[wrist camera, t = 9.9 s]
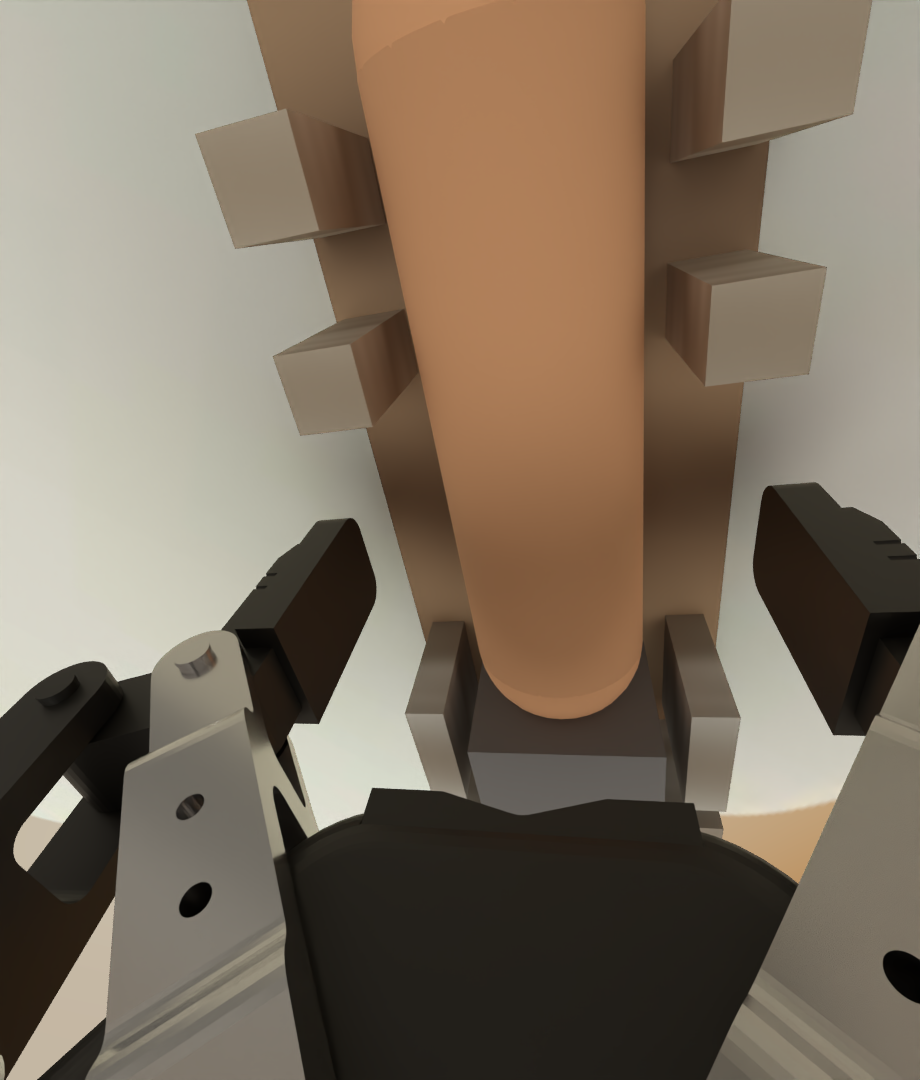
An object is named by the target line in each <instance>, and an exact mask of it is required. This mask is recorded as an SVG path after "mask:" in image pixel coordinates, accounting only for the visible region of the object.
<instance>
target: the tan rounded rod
mask: <svg viewBox="0 0 920 1080" xmlns="http://www.w3.org/2000/svg"><path fill="white" fill-rule="evenodd" d="M352 43H353V50H354V57H355V65H356V72H357V83H358V87H359V92H360V97H361V101H362V106H363V111H364V115H365V120H366V125H367V129H368V134H369V139H370V143H371V148H372V153H373V157H374V162H375V167H376V171H377V176H378V181H379V185H380V190H381V195H382V199H383V204H384V209H385V213H386V218H387V223H388V227H389V232H390V237H391V241H392V246H393V251H394V255H395V260H396V265H397V269H398V274H399V279H400V283H401V288H402V293H403V297H404V302H405V307H406V311H407V316H408V321H409V325H410V330H411V335H412V339H413V344H414V349H415V353H416V358H417V363H418V367H419V372H420V377H421V381H422V386H423V391H424V395H425V400H426V405H427V409H428V414H429V419H430V423H431V428H432V433H433V437H434V442H435V447H436V451H437V456H438V461H439V465H440V470H441V475H442V479H443V484H444V489H445V493H446V498H447V503H448V507H449V512H450V517H451V521H452V526H453V531H454V535H455V540H456V545H457V549H458V554H459V559H460V563H461V568H462V573H463V577H464V582H465V587H466V591H467V596H468V600H469V605H470V610H471V614H472V619H473V624H474V628H475V633H476V638H477V642H478V647H479V652H480V655H481V658H482V667H481V673H480V679H479V685H478V691H477V697H476V703H475V709H474V715H473V721H472V728H471V734H470V740H469V746H468V752H467V753H468V756H469V760H470V764H471V768H472V771H473V775H474V779H475V783H476V786H477V790H478V794H479V798H480V801H481V804H484V805H487V806H490V807H493V808H496V809H500V810H503V811H506V812H509V813H512V814H516V815H530V814H535V813H540V812H545V811H549V810H554V809H559V808H564V807H569V806H574V805H579V804H584V803H589V802H594V801H599V800H604V799H618V800H639V801H660V802H665V784H666V760H667V757H666V752H665V747H664V742H663V737H662V732H661V727H660V722H659V717H658V712H657V706H656V701H655V696H654V691H653V686H652V681H651V676H650V671H649V666H648V661H647V656H646V651H645V646H644V641H643V471H644V262H645V53H646V3H645V0H352Z"/></svg>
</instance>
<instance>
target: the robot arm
mask: <svg viewBox="0 0 920 1080" xmlns="http://www.w3.org/2000/svg"><path fill="white" fill-rule="evenodd" d="M753 572H754V579H755V583H756V587H757V589H758V592H759V594H760V596H761V598H762V599H763V601H764V603H765V605H766V607H767V609H768V611H769V613H770V615H771V617H772V619H773V620H774V622H775V624H776V626H777V628H778V630H779V632H780V634H781V636H782V638H783V640H784V642H785V643H786V645H787V647H788V649H789V651H790V653H791V655H792V657H793V659H794V661H795V663H796V665H797V666H798V668H799V670H800V672H801V674H802V676H803V678H804V680H805V682H806V684H807V686H808V687H809V689H810V691H811V693H812V695H813V697H814V699H815V701H816V703H817V705H818V707H819V709H820V710H821V712H822V714H823V716H824V718H825V720H826V722H827V724H828V726H829V728H830V730H831V732H832V733H833V735H854V736H866V737H865V739H864V741H863V743H862V746H861V748H860V750H859V752H858V754H857V757H856V759H855V761H854V763H853V765H852V768H851V770H850V772H849V774H848V776H847V779H846V781H845V783H844V785H843V787H842V790H841V792H840V794H839V796H838V798H837V801H836V803H835V805H834V807H833V809H832V812H831V814H830V816H829V818H828V821H827V823H826V825H825V827H824V829H823V832H822V834H821V836H820V839H819V840H818V843H817V845H816V847H815V849H814V851H813V854H812V856H811V858H810V860H809V863H808V865H807V867H806V869H805V871H804V874H803V876H802V878H801V880H800V882H799V884H798V883H797V882H795V881H794V880H793V879H792V878H790V877H789V876H788V875H786V874H785V873H783V872H782V871H780V870H779V869H777V868H775V867H774V866H773V865H771V864H770V863H768V862H767V861H765V860H764V859H762V858H760V857H758V856H756V855H754V854H753V853H751V852H749V851H747V850H745V849H743V848H741V847H739V846H737V845H735V844H733V843H730V842H728V841H725V840H723V839H721V838H718V837H716V836H713V835H710V834H706V833H703V832H701V831H700V827H699V822H698V818H697V814H696V809H695V805H694V803H682V802H660V801H639V800H618V799H604V800H599V801H594V802H589V803H584V804H579V805H574V806H569V807H564V808H559V809H554V810H549V811H545V812H540V813H535V814H530V815H516V814H512V813H509V812H506V811H503V810H500V809H496V808H493V807H490V806H487V805H484V804H481V803H478V802H475V801H472V800H469V799H466V798H462V797H459V796H456V795H453V794H450V793H447V792H444V791H427V790H406V789H384V788H372V790H371V793H370V797H369V800H368V803H367V806H366V809H365V812H364V814H360V815H356V816H353V817H350V818H347V819H344V820H341V821H339V822H337V823H335V824H332V825H330V826H328V827H326V828H324V829H322V830H320V831H319V829H318V826H317V823H316V820H315V817H314V814H313V811H312V807H311V804H310V800H309V797H308V793H307V790H306V787H305V783H304V780H303V776H302V773H301V770H300V766H299V763H298V759H297V756H296V753H295V749H294V746H293V743H292V741H291V739H290V737H289V736H288V734H289V732H290V730H291V728H292V726H293V724H294V723H298V724H319V722H320V720H321V718H322V716H323V714H324V712H325V709H326V707H327V705H328V703H329V701H330V699H331V696H332V694H333V692H334V690H335V688H336V686H337V683H338V681H339V679H340V677H341V675H342V673H343V671H344V668H345V666H346V664H347V662H348V660H349V658H350V655H351V653H352V651H353V649H354V647H355V645H356V642H357V640H358V638H359V636H360V634H361V632H362V629H363V627H364V625H365V623H366V621H367V619H368V616H369V614H370V612H371V610H372V608H373V606H374V603H375V599H376V580H375V575H374V572H373V569H372V566H371V563H370V560H369V556H368V553H367V550H366V547H365V544H364V541H363V538H362V535H361V531H360V528H359V526H358V524H357V522H356V521H355V520H354V519H352V518H347V519H334V520H321V521H318V522H316V523H315V525H314V526H313V527H312V528H311V530H310V531H309V532H308V534H307V535H306V536H305V538H304V539H303V540H302V541H301V543H300V544H297V545H296V546H295V547H293V548H292V549H290V550H289V551H288V552H286V553H285V554H284V555H282V556H281V557H279V558H278V559H277V561H276V562H275V563H274V564H273V566H272V567H271V568H270V569H269V571H268V572H267V573H266V575H267V576H266V577H263V578H262V579H261V581H260V582H259V583H258V585H257V586H256V589H254V590H253V591H252V592H251V593H250V595H249V596H248V597H247V598H246V600H245V601H244V602H243V603H242V605H241V606H240V607H239V608H238V610H237V611H236V612H235V613H234V615H233V616H232V617H231V618H230V620H229V621H228V622H227V623H226V625H225V626H224V627H223V628H222V630H218V631H210V632H205V633H202V634H199V635H196V636H193V637H191V638H189V639H187V640H185V641H183V642H182V643H180V644H178V645H177V646H175V647H174V648H172V649H171V650H170V651H169V652H167V653H166V654H165V655H164V656H163V657H162V658H161V659H160V660H159V662H158V663H157V664H156V666H155V667H154V669H153V672H152V673H150V674H146V675H142V676H138V677H134V678H130V679H126V680H123V681H119V682H117V681H116V680H115V678H114V677H113V675H112V674H111V673H110V671H109V670H108V669H107V667H106V666H105V665H104V664H103V663H101V662H96V661H90V662H83V663H79V664H75V665H72V666H69V667H67V668H65V669H62V670H60V671H58V672H56V673H54V674H52V675H51V676H49V677H47V678H46V679H44V680H43V681H41V682H40V683H38V684H37V685H36V686H34V687H33V688H32V689H30V690H29V691H28V692H27V693H26V694H25V695H24V696H23V697H22V698H21V699H20V700H19V701H18V702H17V703H16V704H15V705H14V706H12V707H11V708H10V709H9V710H8V711H7V712H6V713H5V714H4V715H3V716H2V717H1V718H0V1080H6V1078H7V1077H8V1075H9V1073H10V1071H11V1070H12V1068H13V1066H14V1065H15V1063H16V1061H17V1060H18V1058H19V1056H20V1055H21V1053H22V1051H23V1050H24V1048H25V1046H26V1045H27V1043H28V1041H29V1040H30V1038H31V1036H32V1034H33V1033H34V1031H35V1029H36V1028H37V1026H38V1024H39V1023H40V1021H41V1019H42V1018H43V1016H44V1014H45V1013H46V1011H47V1009H48V1008H49V1006H50V1004H51V1003H52V1001H53V999H54V997H55V996H56V994H57V993H58V991H59V989H60V987H61V986H62V984H63V982H64V981H65V979H66V977H67V976H68V974H69V972H70V971H71V969H72V967H73V966H74V964H75V962H76V961H77V959H78V957H79V956H80V954H81V952H82V950H83V949H84V947H85V945H86V944H87V942H88V940H89V939H90V937H91V935H92V934H93V932H94V930H95V929H96V927H97V925H98V923H99V922H100V920H101V918H102V917H103V915H104V913H105V912H106V910H107V908H108V907H109V905H110V903H111V902H112V900H113V898H114V897H115V906H114V920H113V933H112V947H111V961H110V974H109V988H108V1002H107V1016H106V1018H105V1019H104V1020H103V1021H101V1022H100V1023H99V1024H98V1025H97V1026H96V1027H95V1028H94V1029H93V1030H92V1031H90V1032H89V1033H88V1034H87V1035H86V1036H85V1037H84V1038H83V1039H82V1040H80V1041H79V1042H78V1043H77V1044H76V1045H75V1046H74V1047H73V1048H72V1049H71V1050H69V1051H68V1052H67V1053H66V1054H65V1055H64V1056H63V1057H62V1058H61V1059H60V1060H59V1061H57V1062H56V1063H55V1064H54V1065H53V1066H52V1067H51V1068H50V1069H49V1070H47V1071H46V1072H45V1073H44V1074H43V1075H42V1076H41V1077H40V1078H39V1079H37V1080H920V559H917V555H916V554H915V553H914V552H913V551H912V550H911V549H910V548H909V547H908V546H907V545H906V544H905V543H902V544H901V539H900V538H899V537H898V536H897V535H896V534H895V533H894V532H892V531H891V530H890V529H889V528H888V527H887V526H886V525H885V524H884V523H883V522H882V521H880V520H878V519H876V518H874V517H872V516H870V515H868V514H866V513H863V512H861V511H859V510H857V509H855V508H853V507H848V508H841V507H840V506H839V505H838V504H837V503H836V502H835V501H834V500H833V498H832V497H831V496H830V495H829V494H828V493H827V492H826V491H825V490H824V489H823V488H822V487H821V486H820V485H819V484H818V483H815V482H813V483H800V484H787V485H775V486H768V487H766V489H765V490H764V492H763V495H762V500H761V507H760V514H759V521H758V528H757V535H756V542H755V549H754V557H753ZM62 776H64V777H65V778H66V779H67V780H68V781H69V782H70V783H71V784H72V785H73V786H74V788H75V789H76V790H77V791H78V792H79V793H80V794H81V795H82V796H83V798H82V799H81V801H80V802H79V803H78V805H77V806H76V807H75V809H74V810H73V811H72V813H71V814H70V815H69V817H68V818H67V819H66V821H65V822H64V823H63V825H62V826H61V827H60V829H59V830H58V831H57V833H56V834H55V835H54V837H53V838H52V839H51V841H50V842H49V843H48V845H47V846H46V847H45V849H44V850H43V851H42V853H41V854H40V855H39V857H38V858H37V859H36V860H35V862H34V863H33V864H32V866H31V867H30V869H29V870H28V871H27V872H26V871H25V870H24V869H23V868H21V866H19V865H18V863H17V862H16V861H15V858H14V854H13V847H14V842H15V838H16V836H17V833H18V831H19V830H20V828H21V826H22V825H23V823H24V822H25V821H26V820H27V818H28V817H29V816H30V815H31V814H32V812H33V811H34V810H35V809H36V807H37V806H38V805H39V804H40V802H41V801H42V800H43V799H44V798H45V796H46V795H47V794H48V793H49V791H50V790H51V789H52V788H53V787H54V785H55V784H56V783H57V782H58V780H59V779H60V778H61V777H62Z"/></svg>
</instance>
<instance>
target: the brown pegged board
mask: <svg viewBox="0 0 920 1080" xmlns="http://www.w3.org/2000/svg"><path fill="white" fill-rule="evenodd" d="M247 2H248V6H249V10H250V13H251V17H252V20H253V24H254V27H255V31H256V35H257V38H258V42H259V45H260V49H261V53H262V56H263V60H264V63H265V67H266V71H267V74H268V78H269V81H270V85H271V88H272V92H273V96H274V99H275V103H276V106H277V110H278V111H275V112H272V113H268V114H265V115H261V116H257V117H254V118H250V119H247V120H243V121H240V122H236V123H233V124H229V125H225V126H222V127H218V128H215V129H211V130H208V131H204V132H200V133H197V134H195V135H196V138H197V141H198V144H199V147H200V150H201V153H202V156H203V158H204V161H205V164H206V167H207V170H208V173H209V176H210V178H211V181H212V184H213V187H214V190H215V193H216V196H217V198H218V201H219V204H220V207H221V210H222V213H223V216H224V218H225V221H226V224H227V227H228V230H229V233H230V236H231V238H232V241H233V244H234V247H235V249H237V248H245V247H252V246H260V245H268V244H276V243H284V242H291V241H299V240H307V239H314V243H315V246H316V250H317V253H318V257H319V261H320V264H321V268H322V271H323V275H324V279H325V282H326V286H327V289H328V293H329V296H330V300H331V304H332V307H333V311H334V314H335V318H336V322H337V323H336V324H334V325H332V326H330V327H328V328H327V329H325V330H323V331H321V332H319V333H317V334H315V335H313V336H311V337H309V338H307V339H306V340H304V341H302V342H300V343H298V344H296V345H294V346H292V347H290V348H288V349H286V350H285V351H283V352H281V353H279V354H277V355H275V356H273V359H274V361H275V364H276V367H277V370H278V373H279V376H280V379H281V381H282V384H283V387H284V390H285V393H286V396H287V399H288V402H289V404H290V407H291V410H292V413H293V416H294V419H295V422H296V424H297V427H298V430H299V433H300V436H302V435H310V434H319V433H327V432H335V431H343V430H352V429H360V428H366V429H367V433H368V436H369V440H370V444H371V447H372V451H373V454H374V458H375V461H376V465H377V469H378V472H379V476H380V479H381V483H382V487H383V490H384V494H385V497H386V501H387V504H388V508H389V512H390V515H391V519H392V522H393V526H394V530H395V533H396V537H397V540H398V544H399V548H400V551H401V555H402V558H403V562H404V565H405V569H406V573H407V576H408V580H409V583H410V587H411V591H412V594H413V598H414V601H415V605H416V608H417V612H418V616H419V619H420V623H421V626H422V630H423V634H424V637H425V641H426V646H425V649H424V652H423V656H422V659H421V662H420V666H419V669H418V672H417V676H416V679H415V682H414V686H413V689H412V692H411V696H410V699H409V702H408V705H407V709H406V712H405V715H406V718H407V721H408V724H409V727H410V730H411V733H412V736H413V739H414V742H415V745H416V748H417V751H418V753H419V756H420V759H421V762H422V765H423V768H424V771H425V774H426V777H427V780H428V783H429V786H430V789H431V791H444V792H447V793H450V794H453V795H456V796H459V797H462V798H466V799H469V800H472V801H475V802H478V803H481V801H480V798H479V794H478V790H477V786H476V783H475V779H474V775H473V771H472V768H471V764H470V760H469V756H468V753H467V752H468V746H469V740H470V734H471V728H472V721H473V715H474V709H475V703H476V697H477V691H478V685H479V679H480V673H481V667H482V658H481V655H480V652H479V647H478V642H477V638H476V633H475V628H474V624H473V619H472V614H471V610H470V605H469V600H468V596H467V591H466V587H465V582H464V577H463V573H462V568H461V563H460V559H459V554H458V549H457V545H456V540H455V535H454V531H453V526H452V521H451V517H450V512H449V507H448V503H447V498H446V493H445V489H444V484H443V479H442V475H441V470H440V465H439V461H438V456H437V451H436V447H435V442H434V437H433V433H432V428H431V423H430V419H429V414H428V409H427V405H426V400H425V395H424V391H423V386H422V381H421V377H420V372H419V367H418V363H417V358H416V353H415V349H414V344H413V339H412V335H411V330H410V325H409V321H408V316H407V311H406V307H405V302H404V297H403V293H402V288H401V283H400V279H399V274H398V269H397V265H396V260H395V255H394V251H393V246H392V241H391V237H390V232H389V227H388V223H387V218H386V213H385V209H384V204H383V199H382V195H381V190H380V185H379V181H378V176H377V171H376V167H375V162H374V157H373V153H372V148H371V143H370V139H369V134H368V129H367V125H366V120H365V115H364V111H363V106H362V101H361V97H360V92H359V87H358V83H357V72H356V65H355V57H354V50H353V43H352V0H247ZM645 3H646V53H645V262H644V471H643V641H644V646H645V651H646V656H647V661H648V666H649V671H650V676H651V681H652V686H653V691H654V696H655V701H656V706H657V712H658V717H659V722H660V727H661V732H662V737H663V742H664V747H665V752H666V757H667V760H666V784H665V802H682V803H694V805H695V809H696V814H697V818H698V822H699V827H700V831H701V832H703V833H706V834H710V835H713V836H716V837H718V838H721V839H722V835H723V826H722V822H721V818H720V815H719V811H722V812H726V809H727V803H728V796H729V790H730V783H731V777H732V770H733V764H734V757H735V751H736V744H737V738H738V732H739V725H740V719H741V717H740V715H739V712H738V709H737V706H736V703H735V701H734V698H733V695H732V692H731V690H730V687H729V684H728V681H727V678H726V676H725V673H724V670H723V667H722V664H721V662H720V659H719V656H718V653H717V650H716V638H717V629H718V620H719V610H720V601H721V591H722V582H723V573H724V563H725V554H726V545H727V535H728V526H729V516H730V507H731V498H732V488H733V479H734V469H735V460H736V451H737V441H738V432H739V423H740V413H741V404H742V394H743V385H744V382H748V381H756V380H765V379H773V378H781V377H789V376H798V375H806V374H809V370H810V364H811V359H812V353H813V347H814V341H815V335H816V329H817V323H818V317H819V311H820V305H821V300H822V294H823V288H824V282H825V276H826V270H827V267H824V266H819V265H815V264H810V263H806V262H801V261H797V260H792V259H788V258H783V257H779V256H774V255H770V254H765V253H761V252H758V244H759V235H760V226H761V216H762V207H763V197H764V188H765V179H766V169H767V160H768V151H769V141H770V140H772V139H775V138H779V137H782V136H785V135H788V134H791V133H794V132H798V131H801V130H804V129H807V128H810V127H813V126H817V125H820V124H823V123H826V122H829V121H832V120H835V119H839V118H842V117H845V116H848V115H851V114H853V111H854V105H855V99H856V93H857V87H858V81H859V75H860V69H861V64H862V58H863V52H864V46H865V40H866V34H867V28H868V22H869V16H870V10H871V5H872V0H645Z"/></svg>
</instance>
